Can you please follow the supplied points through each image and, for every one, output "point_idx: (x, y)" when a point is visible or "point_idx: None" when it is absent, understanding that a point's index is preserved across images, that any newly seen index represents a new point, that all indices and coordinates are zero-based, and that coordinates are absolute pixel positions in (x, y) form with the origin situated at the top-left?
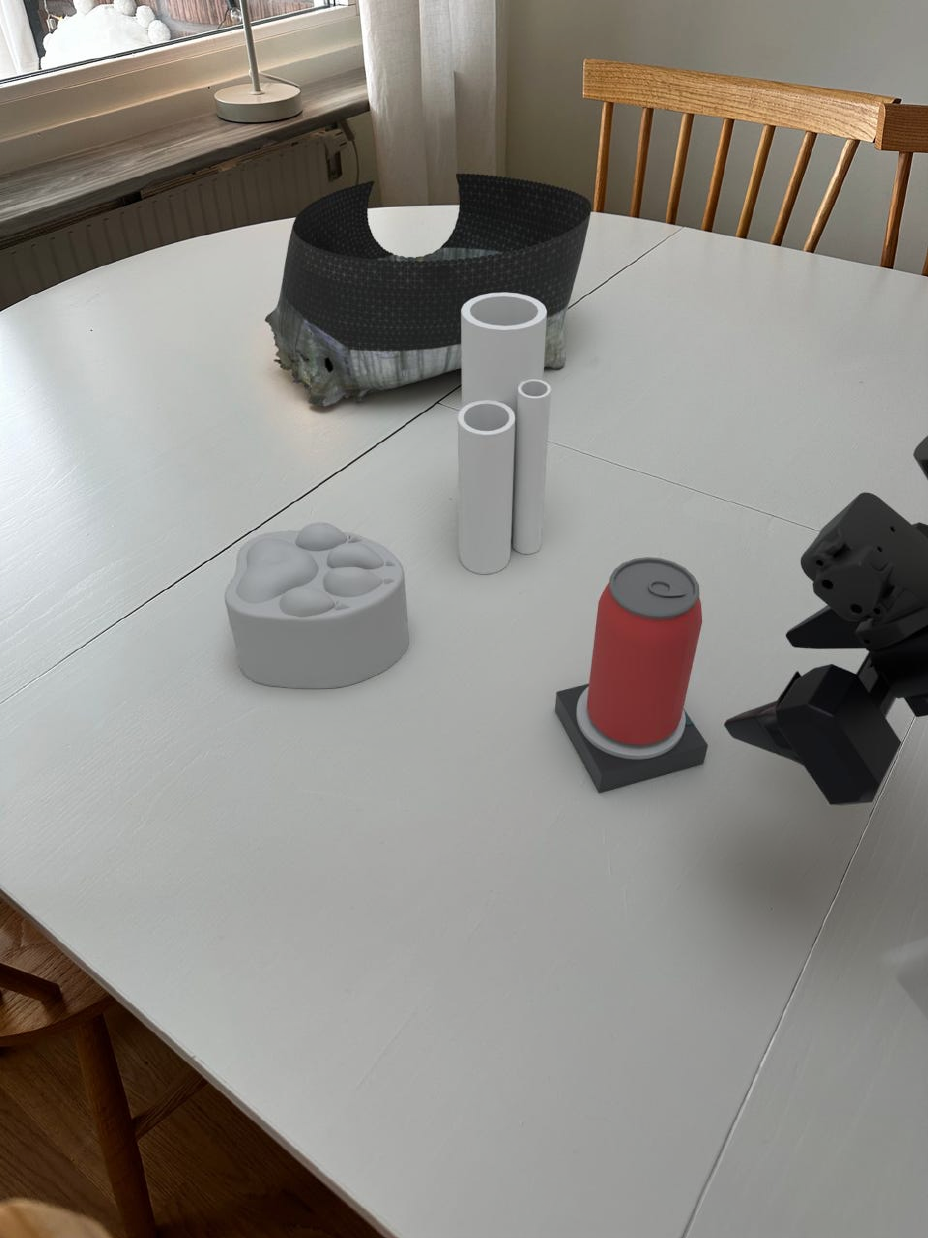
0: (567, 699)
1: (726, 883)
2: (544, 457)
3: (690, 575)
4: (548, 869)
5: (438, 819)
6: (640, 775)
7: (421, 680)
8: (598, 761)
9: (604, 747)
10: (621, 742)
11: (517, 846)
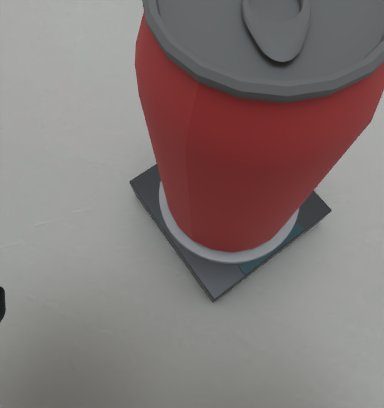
0: None
1: (42, 353)
2: None
3: (369, 58)
4: (31, 168)
5: (70, 69)
6: (161, 229)
7: None
8: (148, 174)
9: None
10: None
11: (53, 136)
